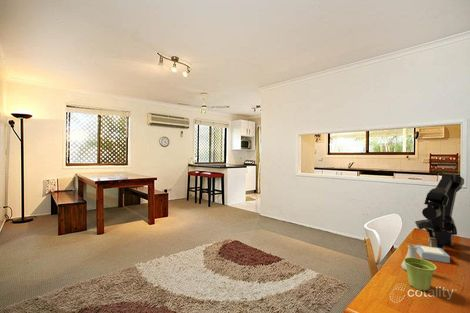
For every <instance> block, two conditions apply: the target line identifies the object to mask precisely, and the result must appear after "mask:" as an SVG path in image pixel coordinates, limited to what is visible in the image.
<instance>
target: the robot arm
mask: <svg viewBox="0 0 470 313" xmlns="http://www.w3.org/2000/svg"><path fill="white" fill-rule="evenodd" d="M464 184H465V178H463V177H462V176H461V175H456V174H453V173H442V175H441V178H440V180H439V182H438V184H437V185H436V186H435V187H434V188H431V189H430V190H429V191H428V192H427V195H425V196H426V197H425V200H424V203H423V205H426V207H424V208H423V209H422V211H421V214H422V216H423V217H424V218H425V219H420V220H415V221H414V223H415V224H416V225H415V226H416V227H417V228H418V230H425V231H427V233H428V236H429V237H432V238H435V239H436V243H437V248H441V249H442V248H443V247H444V248H445V246H449V247H455V244H454V243H453V242H452V240H453V236H458V229H457V226H456V223H455V220H454V219H453V217H452V215H453V211H454V207H455V201H456V196H457V192H459V191H460V190H461V189H462V187H463V185H464Z"/></svg>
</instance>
